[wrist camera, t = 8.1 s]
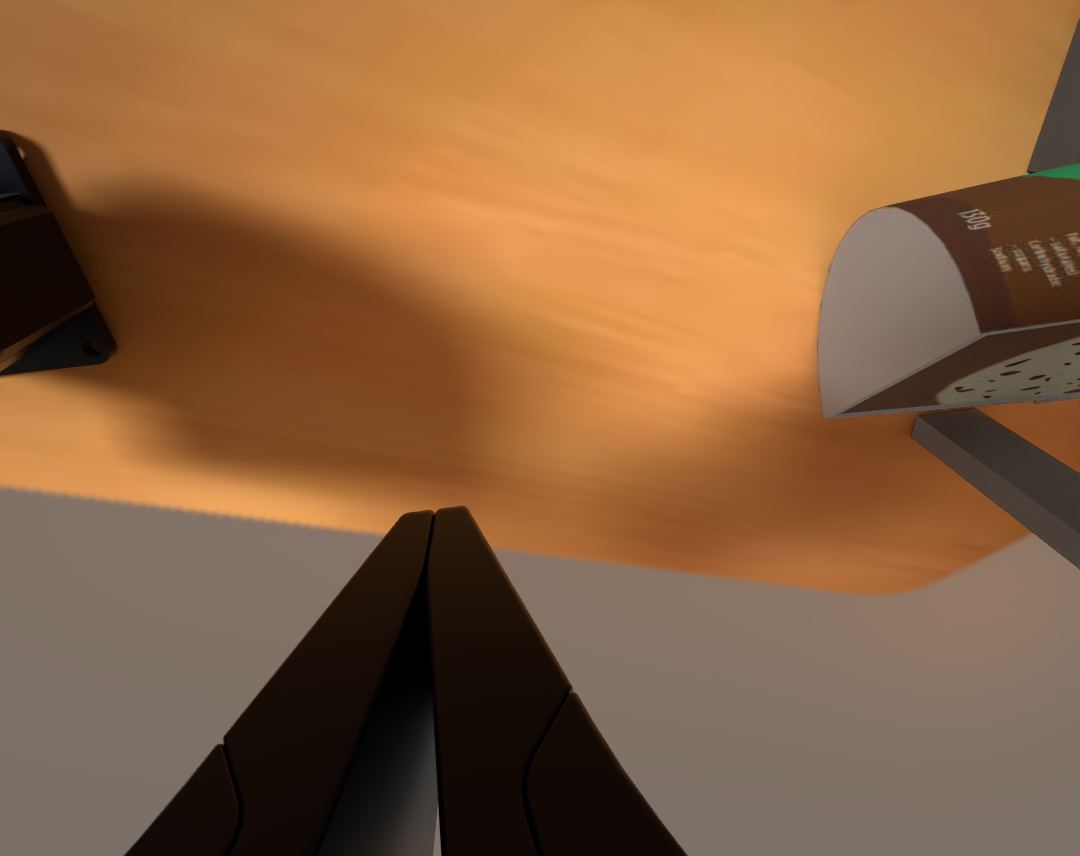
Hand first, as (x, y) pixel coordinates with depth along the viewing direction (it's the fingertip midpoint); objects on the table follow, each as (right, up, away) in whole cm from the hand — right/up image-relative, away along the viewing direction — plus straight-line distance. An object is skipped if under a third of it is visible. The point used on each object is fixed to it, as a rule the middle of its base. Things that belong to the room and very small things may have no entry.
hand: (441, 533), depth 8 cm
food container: (+11, +6, +9) cm, 15 cm away
